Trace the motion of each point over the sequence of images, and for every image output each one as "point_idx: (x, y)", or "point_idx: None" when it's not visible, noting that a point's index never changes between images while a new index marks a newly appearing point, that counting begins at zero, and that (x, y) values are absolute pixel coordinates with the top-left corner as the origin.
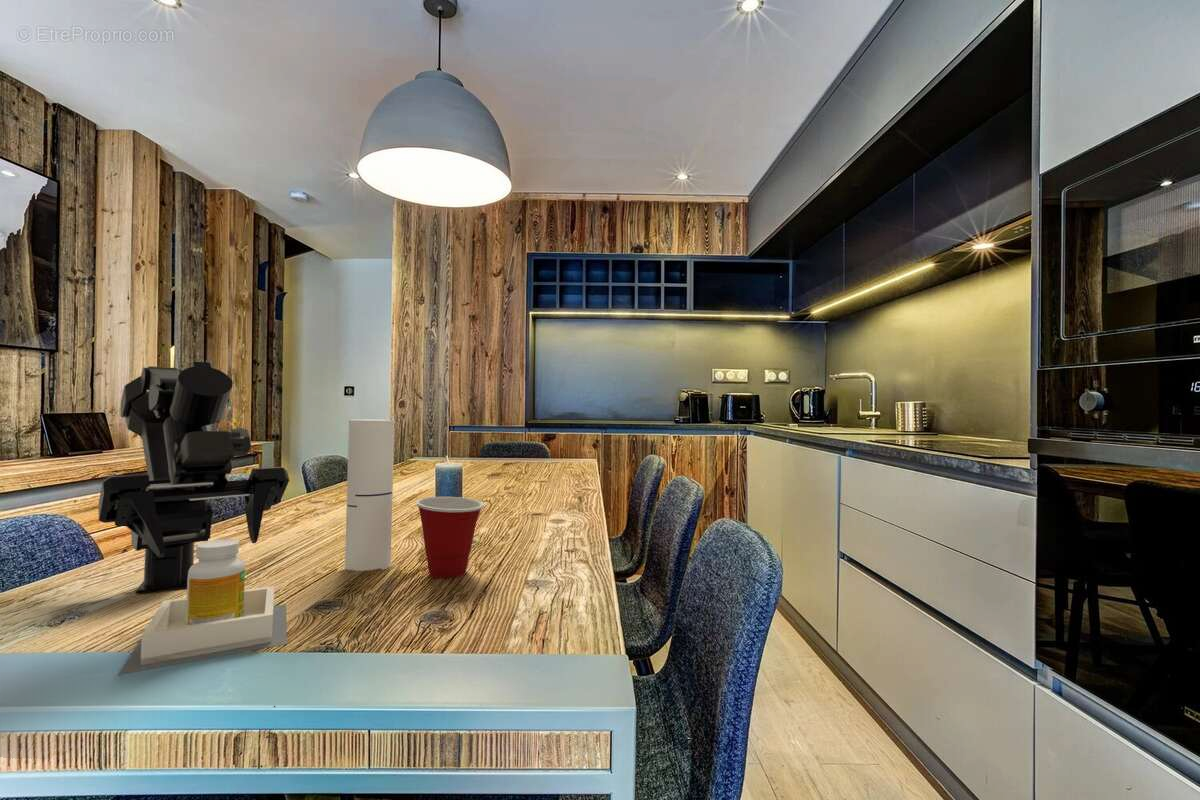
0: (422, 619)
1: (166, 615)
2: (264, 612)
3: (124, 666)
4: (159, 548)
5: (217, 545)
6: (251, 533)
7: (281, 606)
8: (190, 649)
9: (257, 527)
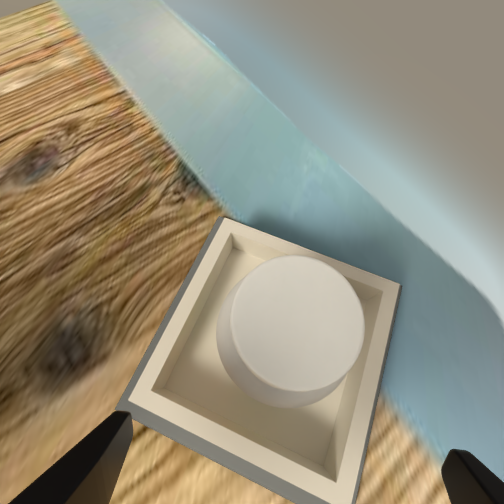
0: (52, 171)
1: (346, 418)
2: (180, 359)
3: (395, 309)
4: (481, 466)
5: (308, 282)
6: (109, 470)
7: (128, 402)
8: None
9: (78, 454)
